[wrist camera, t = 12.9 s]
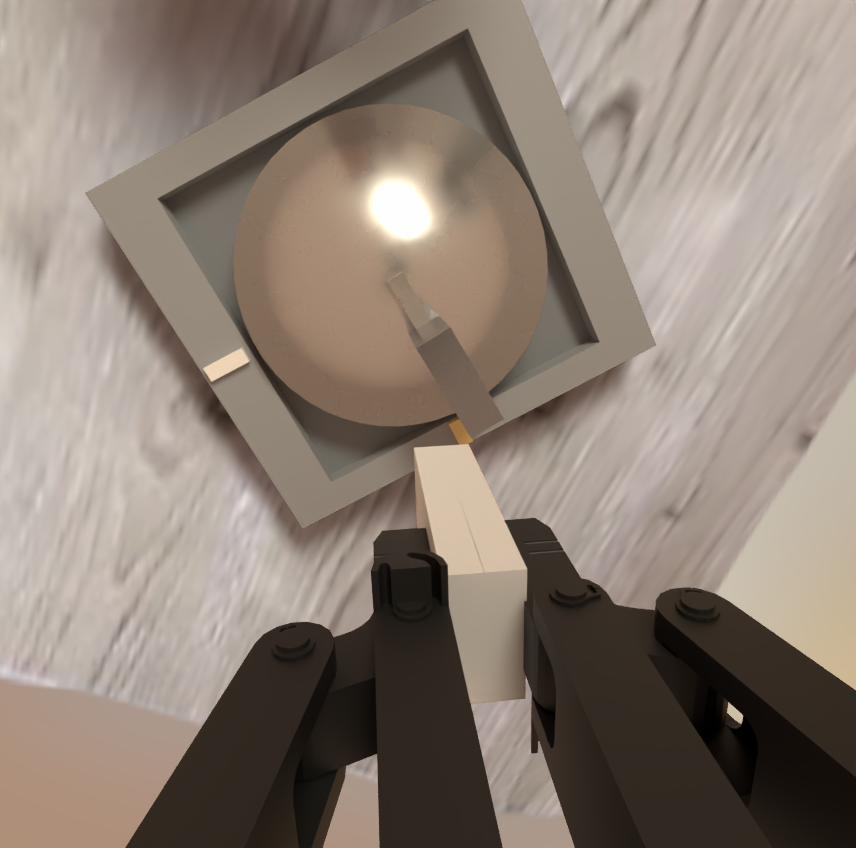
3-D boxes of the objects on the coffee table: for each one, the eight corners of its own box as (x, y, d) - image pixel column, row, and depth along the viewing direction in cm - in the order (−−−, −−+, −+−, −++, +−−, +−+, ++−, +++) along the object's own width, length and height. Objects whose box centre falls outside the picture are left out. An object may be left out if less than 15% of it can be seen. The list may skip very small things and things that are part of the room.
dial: (178, 220, 28) (133, 216, 23) (444, 48, 28) (466, -2, 22) (348, 464, 33) (346, 513, 27) (583, 321, 32) (633, 341, 26)
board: (492, -15, 28) (507, -43, 26) (633, 336, 34) (658, 346, 31) (108, 196, 29) (82, 192, 26) (306, 506, 35) (302, 531, 32)
